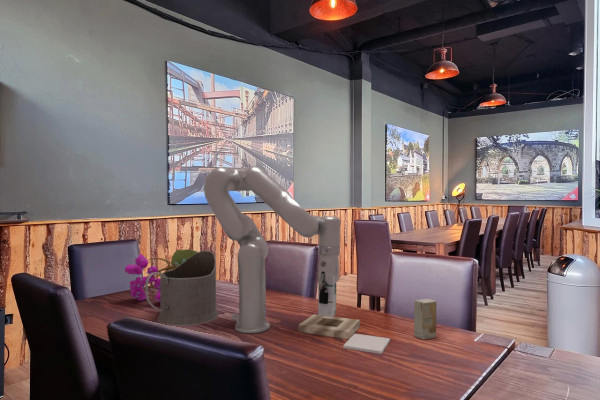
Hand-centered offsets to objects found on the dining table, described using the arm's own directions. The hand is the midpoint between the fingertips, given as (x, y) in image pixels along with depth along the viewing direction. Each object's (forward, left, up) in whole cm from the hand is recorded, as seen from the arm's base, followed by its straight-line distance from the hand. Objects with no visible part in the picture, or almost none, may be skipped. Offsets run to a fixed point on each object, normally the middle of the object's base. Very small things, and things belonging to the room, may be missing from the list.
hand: (327, 300), depth 141 cm
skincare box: (+33, +6, -10) cm, 35 cm away
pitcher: (-56, -12, -10) cm, 58 cm away
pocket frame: (+1, 0, -10) cm, 10 cm away
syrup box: (0, 0, -5) cm, 5 cm away
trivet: (+17, -9, -10) cm, 21 cm away
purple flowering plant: (-84, +12, -11) cm, 85 cm away
